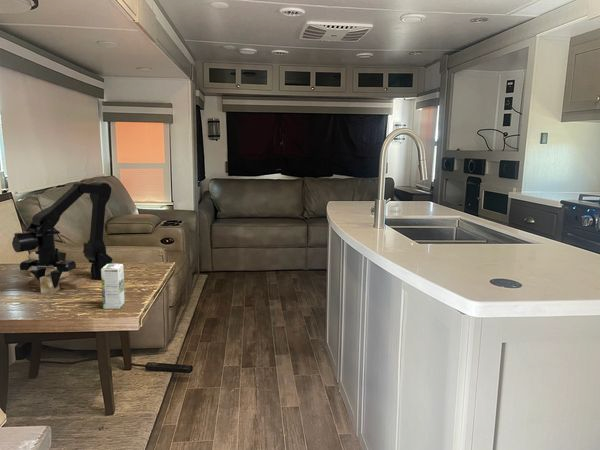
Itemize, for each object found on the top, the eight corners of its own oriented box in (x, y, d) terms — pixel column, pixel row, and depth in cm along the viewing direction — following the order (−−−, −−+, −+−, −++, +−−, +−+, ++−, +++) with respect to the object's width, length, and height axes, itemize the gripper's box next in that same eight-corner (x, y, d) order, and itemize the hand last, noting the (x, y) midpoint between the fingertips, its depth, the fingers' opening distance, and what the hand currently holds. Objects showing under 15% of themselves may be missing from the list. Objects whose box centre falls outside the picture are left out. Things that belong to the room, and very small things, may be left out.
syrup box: (108, 303, 157) (105, 263, 154) (125, 303, 158) (123, 263, 155) (102, 309, 152) (99, 268, 149) (120, 309, 152) (118, 268, 149)
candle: (38, 277, 185) (35, 253, 183) (26, 276, 186) (24, 253, 184) (48, 273, 190) (46, 250, 188) (37, 272, 191) (34, 249, 189)
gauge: (72, 282, 179) (71, 268, 178) (51, 294, 166) (49, 278, 164) (63, 282, 179) (61, 267, 178) (40, 293, 166) (39, 278, 165)
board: (86, 283, 178) (85, 278, 178) (76, 288, 172) (76, 283, 171) (38, 281, 180) (38, 276, 179) (27, 286, 173) (27, 281, 173)
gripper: (82, 243, 172) (85, 281, 175) (36, 241, 174) (40, 279, 177) (65, 250, 161) (68, 291, 164) (16, 248, 163) (21, 289, 166)
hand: (50, 287), depth 168 cm, fingers closed on gauge, 4 cm apart
